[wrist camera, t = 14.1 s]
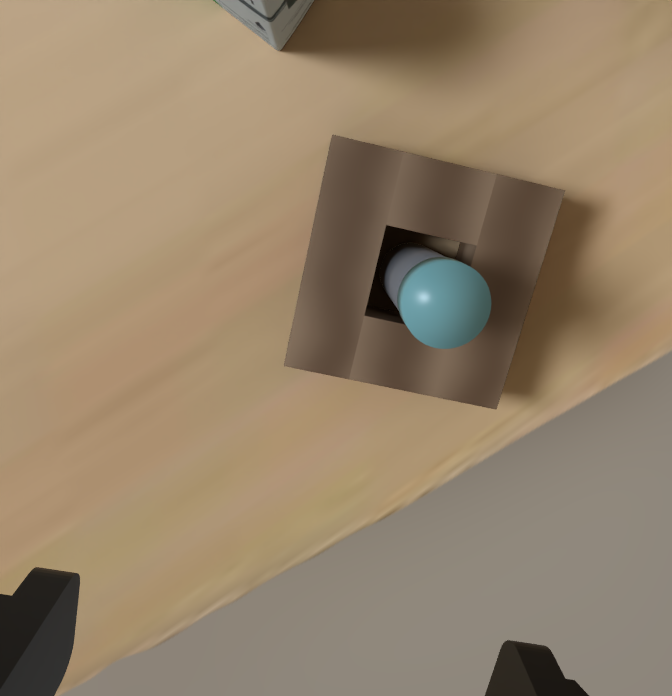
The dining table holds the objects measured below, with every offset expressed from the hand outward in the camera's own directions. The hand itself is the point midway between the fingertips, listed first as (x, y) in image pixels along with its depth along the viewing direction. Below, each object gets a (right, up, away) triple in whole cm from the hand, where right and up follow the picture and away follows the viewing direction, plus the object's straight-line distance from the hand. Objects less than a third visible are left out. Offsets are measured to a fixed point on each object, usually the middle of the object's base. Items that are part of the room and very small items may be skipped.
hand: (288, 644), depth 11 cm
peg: (+6, +11, +28) cm, 30 cm away
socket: (+6, +11, +28) cm, 30 cm away
